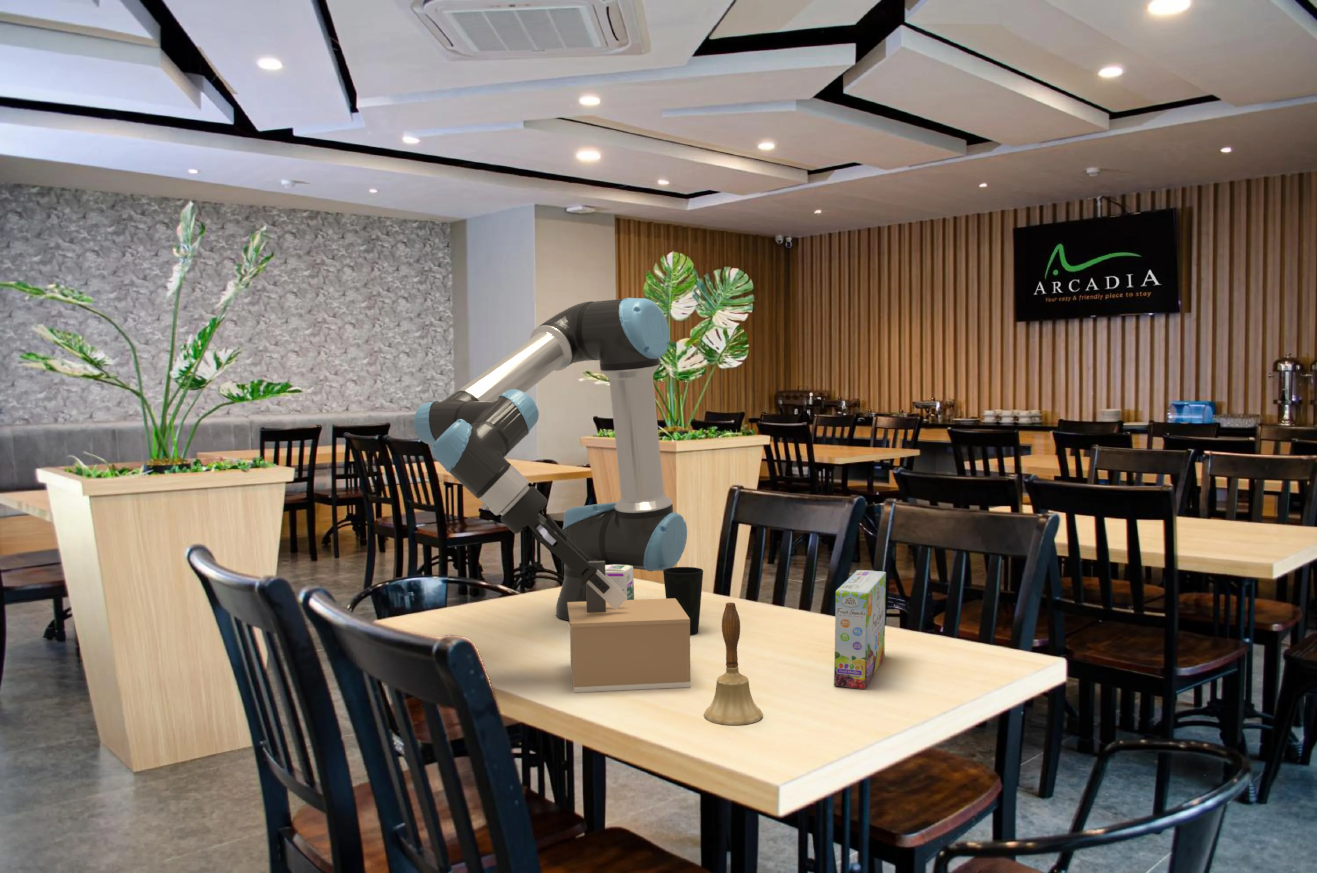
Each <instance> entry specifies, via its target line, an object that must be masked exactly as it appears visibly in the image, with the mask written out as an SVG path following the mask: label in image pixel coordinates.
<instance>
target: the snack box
mask: <svg viewBox="0 0 1317 873" xmlns="http://www.w3.org/2000/svg"><path fill="white" fill-rule="evenodd" d="M886 578H887V572H886V571H881V570H879V571H877V570H863V569H861V570H860V569H858V570H857V569H856V571H855V572H854V573H852V575H851V576H850V577H848V579H846V581H844V582H843V583H842V584H841V585H840V586H839V587H838V588H837V589H836V590H835V609H834V610H835V613H834V614H835V615H834V616H835V617H834V618H835V621H834V622H835V624H834V626H835V627H834V665H833V666H834V667H833V671H834V672H833V674H834V675H833V686H834V687H836V686H837V687H841V688H851V689H859V690H866V689H867V687H868V685H869V684H870V682H871V680H872V679H873V678H874V675H875V673H876V672H877V670H878V668H879V667H880V665H881V664H882V662H883V661H884V659H885V657H886V654H885V652H886V651H885V649H886V648H885V647H886V645H885V644H886V640H885V639H886V633H885V631H886V585H887V584H886V582H887V580H886Z"/></svg>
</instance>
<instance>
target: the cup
mask: <svg viewBox="0 0 1317 873" xmlns="http://www.w3.org/2000/svg"><path fill="white" fill-rule="evenodd" d="M662 572H663V581H664V593H665V599H670V598H676V600H677V601H678V603H679V604H680V605H681V607H682V608H683V610H684V611H685V613H686V614H687V615H688V617H689V618H690V636H695V635H697V634H699V631H700V630H699V629H700V628H699V627H700V615H701V605H702V604H701V603H702V592H703V591H702V590H703V580H704V579H703V578H704V569H702V568H699V567H695V566H694V567H691V566H677V567H675V566H674V567H673V568H667V569H665V570H663V571H662Z"/></svg>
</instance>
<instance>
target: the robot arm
mask: <svg viewBox="0 0 1317 873" xmlns="http://www.w3.org/2000/svg"><path fill="white" fill-rule="evenodd" d="M668 324H669V323H668V321H667V318H666V315H665V314H664V312H663V310H662V309H661V308H659V305H658V304H657V303H655V302H654V301H653V300H652V299H648V298H646V297H645V298H643V297H642V298H641V297H640V298H639V297H638V298H637V297H635V298H634V297H626V298H621V299H620V298H619V299H608V300H597V301H591V300H590V301H584V302H581V303H578V304H577V303H576V304H575V305H572V306H570V307H568V308H566V309H564V310H562V311H561V312H559V313H557V314H555V315H554V316H552V317H550V318H549V319H548V320H545V322H543V323H542V324H540V325H539V326H537V327H535V329H533V330H532V332H531V335H530V339H528V340H526V341H525V342H524V343H522V344H521V345H519V346H518V347H517V348H516V349H514V350H513V351H512V352H510V353H509V354H507V355H506V356H504V357H503V358H502V359H500V360H499V361H497V362H495V364H493V365H492V366H491V367H489V368H487V369H486V370H484V371H483V372H481V373H480V374H479V375H478V376H476V377H475V378H473V379H472V380H471V381H469V382H468V383H467V384H465V385H464V386H462V387H461V388H460V389H458V390H456V392H454V393H453V394H451V395H450V396H448V397H446V398H445V399H443V400H441V401H439V400H432V401H430V402H425V403H423V404H421V405H420V406H419V407H418V408H417V410H416V412H415V414H414V418H413V429H414V430H415V434H416V436H417V438H418V439H419V440H420V441H421V442H423V443H424V444H427V445H431V448H430V451H431V455H432V457H434V459H435V460H436V461H437V462H438V463H439V464H440V465H441V466H442V468H444V470H445V471H446V472H447V473H449V474H450V475H451V476H452V477H453V478H455V479H456V481H458V482H459V483H460V484H461V485H462V486H463V487H464V488H466V490H467V491H469V492H470V493H471V494H472V496H474V497H475V498H476V499H478V500H479V501H480V502H481V503H482V504H481V505H480V507H481V509H482V510H487V509H489V511H490V512H491V513H493V515H494V516H499V515H501V517H500V522H501V523H503V525H504V526H506V528H508V529H509V530H510V531H511V532H512V533H513V534H515V535H516V534H519V533H521V532H522V531H524V529H525V528H526V527H529V529H530V530H531V531H532V532H533V533H532V537H533V538H534V539H535V541H536V542H537V543H540V544H541V545H543V547H545V548H546V549H547V550H548V551H549V552H550V553H552V554H554V556H556V557H557V558H558V559H559V560H561V562H562V563H563V564H564V565H563V570H564V573H563V574H564V575H563V578H564V579H563V581H562V584H561V588H560V591H559V595H558V598H557V602H556V605H555V606H556V607H555V611H556V612H555V613H556V617H557V618H559V619H561V620H564V621H569V614H568V607H567V602H585V601H586V583H587V584H588V585H589V586H590V587H592V588H593V589H594V590H595V591H596V592H597V593H598V594H599V595H600V596H601V597H602V598H603V599H604V600H605V601H606V602H607V603H608V604H609V605H611V606H612V607H613V608H614V609H615V610H617V608H618V607H619V606H620V605H621V604H622V603H623V602H624V601H625V600H626V599H627V597H626V596H625V592H624V591H623V590H622V589H621V588H620V587H619V586H617V585H616V584H615V583H614V582H613V581H612V580H611V579H610V578H609V577H608V576H607V575H606V574H605V576H604V575H603V574H602V573H601V572H600V571H599V570H596V568H595V567H593V566H592V565H591V564H590V563H589V562H588V561H605V565H617V564H620V565H631V566H633V570H641V571H647V572H663V570H665V569H667V568H673V567H675V566H676V565H677V564H678V563H679V561H680V560H681V558H682V556H683V553H684V552H685V549H686V545H687V538H688V527H687V522H686V520H685V519H684V516H682V514H679V513H677V512H674V507H673V504H674V503H673V500H672V499H671V497H669V496H667V495H666V494H665V491H664V480H663V469H662V460H661V458H662V457H661V448H660V437H659V427H658V426H659V425H658V416H657V415H658V414H657V407H656V406H657V405H656V396H655V394H656V393H655V382H654V374H655V373H656V371H657V370H658V368H660V358H662V357H663V356H664V355H665V354H666V353H667V351H668V349H669V347H668V345H669V343H670V330H669V328H670V327H669V325H668ZM586 361H587V362H588V361H599V368H600V369H599V370H600V372H601V374H603V375H604V376H605V377H607V379H608V382H609V387H610V388H609V389H610V390H609V391H610V399H611V400H610V402H611V410H612V418H613V419H612V421H613V428H614V429H613V430H614V440H615V448H616V450H615V451H616V459H617V460H616V461H617V466H618V467H617V470H618V479H619V480H618V481H619V489H620V499H619V500H618V501H617V502H603V503H595V504H588V505H582V506H581V505H580V506H574V507H570V508H567V510H565V511H564V514H563V526H562V528H561V527H559V525H558V523H557V522H556V520H554V519H553V518H552V517H551V516H549V517H548V518H546V517H545V516H544V515H542V513H540V512H542V511H543V509H544V508H545V507H546V505H547V504H548V499H547V497H546V496H545V495H543V494H542V493H541V492H540V490H538V489H537V488H536V487H535V486H529V483H530V482H529V480H528V479H527V478H526V477H525V476H524V475H523V474H522V473H521V472H520V471H519V470H518V469H517V468H516V467H515V466H514V465H512V464H511V463H510V462H509V461H508V459H506V458H505V457H506V456H507V455H508V454H509V453H510V452H511V451H512V450H513V449H514V448H515V447H516V446H517V445H518V444H520V442H521V441H522V440H523V439H524V438H525V437H527V436H528V435H529V433H530V431H531V430H532V429H533V427H535V425H536V424H537V423H538V421H539V416H540V414H539V410H538V406H537V404H536V401H534V399H533V398H532V397H531V396H530V395H529V394H528V393H526V392H528V391H529V390H530V389H532V388H533V387H534V386H535V385H536V384H538V383H539V382H541V381H542V380H544V379H545V378H546V377H548V376H549V375H550V374H551V373H553V372H556V371H563V370H565V369H566V368H567V367H569V366H570V365H572V364H576V363H579V362H580V363H581V362H586Z"/></svg>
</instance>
